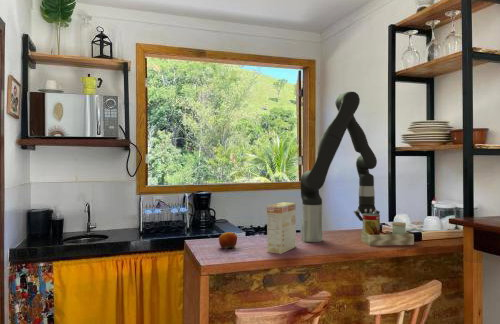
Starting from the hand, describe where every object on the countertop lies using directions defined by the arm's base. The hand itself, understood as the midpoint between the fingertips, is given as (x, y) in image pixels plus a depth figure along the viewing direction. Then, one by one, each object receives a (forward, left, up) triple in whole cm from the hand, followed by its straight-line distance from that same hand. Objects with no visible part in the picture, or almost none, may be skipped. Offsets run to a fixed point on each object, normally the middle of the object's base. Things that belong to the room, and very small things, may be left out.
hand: (366, 229), depth 184 cm
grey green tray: (+4, -14, -4) cm, 15 cm away
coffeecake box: (-46, -23, -4) cm, 52 cm away
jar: (+10, -14, -4) cm, 18 cm away
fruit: (-69, -18, -4) cm, 71 cm away
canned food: (0, -5, -4) cm, 7 cm away
